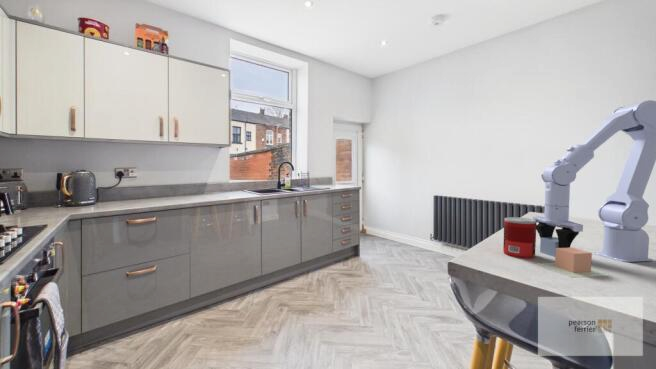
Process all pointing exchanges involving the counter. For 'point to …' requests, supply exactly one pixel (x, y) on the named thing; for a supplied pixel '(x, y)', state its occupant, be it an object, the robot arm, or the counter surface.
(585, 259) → the terracotta brick
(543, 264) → the plate
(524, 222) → the canned food
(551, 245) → the blue brick
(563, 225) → the robot arm
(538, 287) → the counter surface
